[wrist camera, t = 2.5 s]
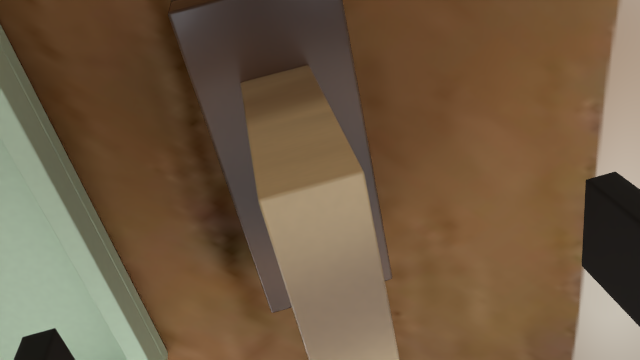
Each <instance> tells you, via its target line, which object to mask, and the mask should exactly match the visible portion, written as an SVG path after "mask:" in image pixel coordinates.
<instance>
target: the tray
mask: <svg viewBox="0 0 640 360" xmlns="http://www.w3.org/2000/svg"><path fill="white" fill-rule="evenodd" d="M53 328H56V330H57V331H58V333H59V335H60V336H61V338H62V339H63V341H64V342H65V344H66V346H67V347H68V349H69V350H70V352H71V354H72V355H73V357H74V358H75V360H167V357H168V352H167V350H166V348H165V346H164V344H163V342H162V340H161V338H160V336H159V334H158V332H157V330H156V328H155V326H154V324H153V322H152V321H151V319H150V317H149V315H148V313H147V311H146V309H145V307H144V305H143V303H142V301H141V299H140V297H139V295H138V293H137V291H136V289H135V287H134V285H133V283H132V281H131V279H130V277H129V275H128V273H127V272H126V270H125V268H124V266H123V264H122V262H121V260H120V258H119V256H118V254H117V252H116V250H115V248H114V246H113V244H112V242H111V240H110V238H109V236H108V234H107V232H106V230H105V228H104V226H103V224H102V222H101V221H100V219H99V217H98V215H97V213H96V211H95V209H94V207H93V205H92V203H91V201H90V199H89V197H88V195H87V193H86V191H85V189H84V187H83V185H82V183H81V181H80V179H79V177H78V175H77V173H76V172H75V170H74V168H73V166H72V164H71V162H70V160H69V158H68V156H67V154H66V152H65V150H64V148H63V146H62V144H61V142H60V140H59V138H58V136H57V134H56V132H55V130H54V128H53V126H52V124H51V123H50V121H49V119H48V117H47V115H46V113H45V111H44V109H43V107H42V105H41V103H40V101H39V99H38V97H37V95H36V93H35V91H34V89H33V87H32V85H31V83H30V81H29V79H28V77H27V75H26V74H25V72H24V70H23V68H22V66H21V64H20V62H19V60H18V58H17V56H16V54H15V52H14V50H13V48H12V46H11V44H10V42H9V40H8V38H7V36H6V34H5V32H4V30H3V28H2V26H1V25H0V360H14V357H15V355H16V352H17V350H18V347H19V345H20V342H21V340H22V337H25V336H28V335H32V334H35V333H39V332H43V331H46V330H50V329H53Z"/></svg>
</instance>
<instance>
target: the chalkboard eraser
mask: <svg viewBox="0 0 640 360" xmlns="http://www.w3.org/2000/svg"><path fill="white" fill-rule="evenodd" d="M168 16H169V19H170V22H171V25H172V28H173V31H174V33H175V36H176V39H177V42H178V45H179V48H180V51H181V54H182V56H183V59H184V62H185V65H186V68H187V71H188V74H189V77H190V79H191V82H192V85H193V88H194V91H195V94H196V97H197V100H198V103H199V105H200V108H201V111H202V114H203V117H204V120H205V123H206V126H207V128H208V131H209V134H210V137H211V140H212V143H213V146H214V149H215V151H216V154H217V157H218V160H219V163H220V166H221V169H222V172H223V175H224V177H225V180H226V183H227V186H228V189H229V192H230V195H231V198H232V200H233V203H234V206H235V209H236V212H237V215H238V218H239V221H240V223H241V226H242V229H243V232H244V235H245V238H246V241H247V244H248V247H249V249H250V252H251V255H252V258H253V261H254V264H255V267H256V270H257V272H258V275H259V278H260V281H261V284H262V287H263V290H264V293H265V296H266V298H267V301H268V304H269V307H270V310H271V312H273V313H274V312H277V311H281V310H285V309H288V308H292V309H293V312H294V315H295V319H296V322H297V325H298V328H299V331H300V334H301V338H302V341H303V344H304V347H305V350H306V353H307V356H308V360H400V359H399V353H398V348H397V343H396V338H395V332H394V327H393V322H392V316H391V311H390V306H389V301H388V295H387V290H386V285H385V281H387V280H390V279H392V272H391V267H390V261H389V256H388V250H387V245H386V239H385V233H384V228H383V222H382V217H381V211H380V206H379V200H378V194H377V189H376V183H375V178H374V172H373V167H372V161H371V156H370V150H369V144H368V139H367V133H366V128H365V122H364V117H363V111H362V105H361V100H360V94H359V89H358V83H357V78H356V72H355V67H354V61H353V55H352V50H351V44H350V39H349V33H348V28H347V22H346V16H345V11H344V5H343V0H171V4H170V8H169V12H168Z"/></svg>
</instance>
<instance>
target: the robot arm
mask: <svg viewBox="0 0 640 360" xmlns="http://www.w3.org/2000/svg"><path fill="white" fill-rule="evenodd" d="M582 266H583V267H584V269H585V270H586V271H587V272H588V273H589V274H590V275H591V276H592V277H593V278H594V279H595V280H596V281H597V282H598V283H599V284H600V285H601V286H602V287H603V288H604V290H605V291H606V292H607V293H608V294H609V295H610V296H611V297H612V298H613V299H614V300H615V301H616V302H617V303H618V304H619V305H620V306H621V307H622V309H623V310H624V311H625V312H626V313H627V314H628V315H629V316H630V317H631V318H632V319H633V320H634V321H635V322H636V323H637V324H638V325H639V326H640V189H638V188H637V187H636V186H634V185H633V184H632V183H630V182H629V181H627V180H626V179H625V178H623V177H622V176H621V175H619V174H618V173H617V172H612V173H609V174H605V175H602V176H598V177H594V178H591V179H587V180H586V190H585V210H584V230H583V250H582ZM14 360H75V358H74V357H73V355H72V354H71V352H70V350H69V349H68V347H67V346H66V344H65V342H64V341H63V339H62V338H61V336H60V335H59V333H58V331H57V330H56V328H53V329H50V330H46V331H43V332H39V333H35V334H32V335H28V336H25V337H22V340H21V342H20V345H19V347H18V350H17V352H16V355H15V357H14Z"/></svg>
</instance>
